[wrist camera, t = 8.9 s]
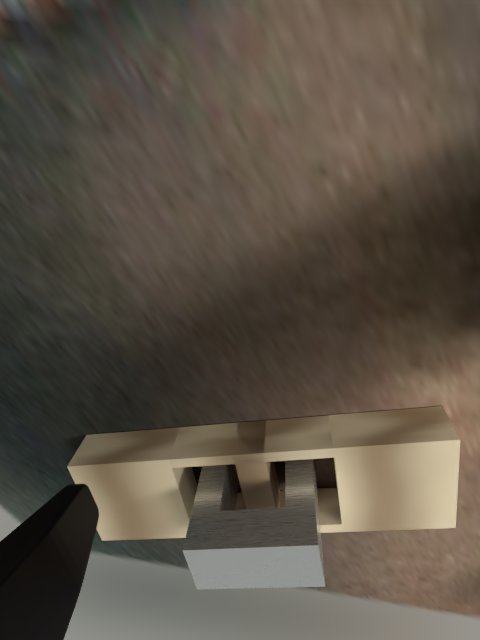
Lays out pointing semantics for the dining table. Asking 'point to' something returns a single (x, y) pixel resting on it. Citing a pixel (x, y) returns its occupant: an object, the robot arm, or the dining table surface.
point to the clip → (255, 533)
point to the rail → (260, 473)
